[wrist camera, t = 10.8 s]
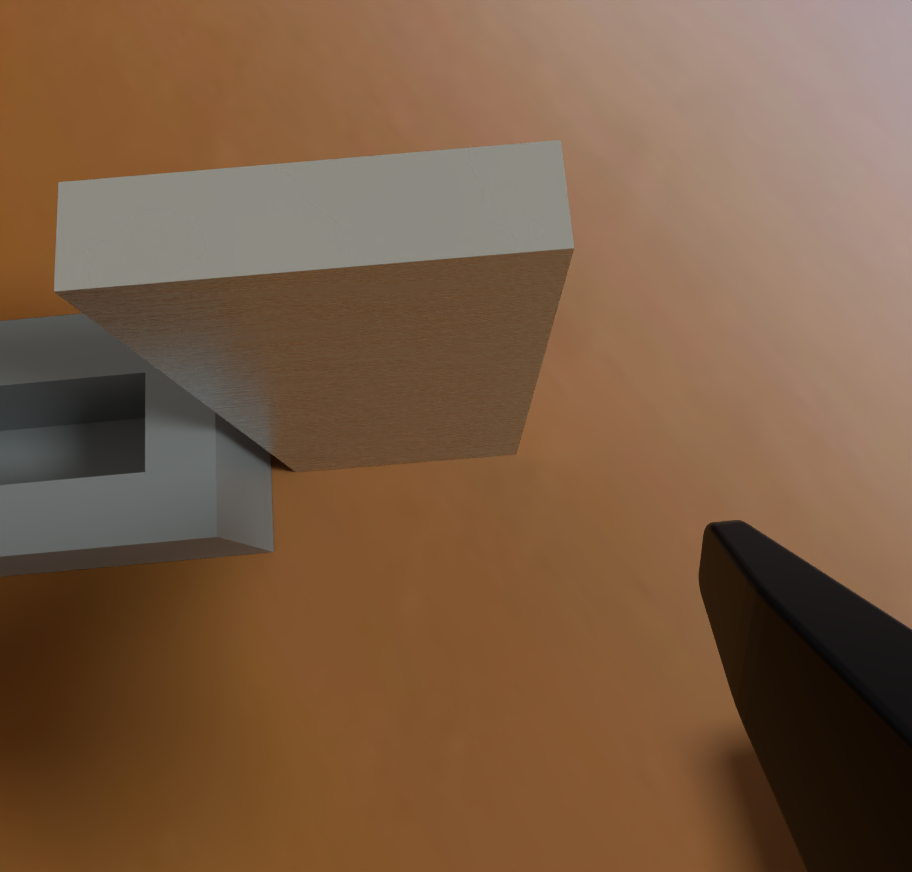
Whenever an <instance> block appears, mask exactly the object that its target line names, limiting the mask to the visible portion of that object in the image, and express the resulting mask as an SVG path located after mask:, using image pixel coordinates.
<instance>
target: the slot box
mask: <svg viewBox="0 0 912 872" xmlns="http://www.w3.org/2000/svg"><path fill="white" fill-rule="evenodd" d="M268 552H274V539H273V509H272V480H271V453H269V452H268V451H267V450H265V449H264V448H263V447H261V446H260V445H259V444H257V443H256V442H255V441H253V440H252V439H251V438H249V437H248V436H247V435H245V434H244V433H243V432H241V431H240V430H238V429H237V428H236V427H234V426H233V425H232V424H230V423H229V422H228V421H226V420H225V419H224V418H222V417H221V416H220V415H218V414H217V413H216V412H214V411H213V410H212V409H210V408H209V407H208V406H206V405H205V404H204V403H202V402H201V401H200V400H198V399H197V398H196V397H194V396H193V395H192V394H190V393H189V392H188V391H186V390H185V389H184V388H182V387H181V386H180V385H178V384H177V383H176V382H174V381H173V380H172V379H170V378H169V377H168V376H166V375H165V374H164V373H162V372H161V371H160V370H158V369H157V368H156V367H154V366H153V365H152V364H150V363H149V362H148V361H146V360H145V359H144V358H142V357H141V356H140V355H138V354H137V353H136V352H134V351H133V350H131V349H130V348H129V347H127V346H126V345H125V344H123V343H122V342H121V341H119V340H118V339H117V338H115V337H114V336H113V335H111V334H110V333H109V332H107V331H106V330H105V329H103V328H102V327H101V326H99V325H98V324H97V323H95V322H94V321H93V320H91V319H90V318H89V317H87V316H86V315H85V314H72V315H61V316H50V317H39V318H28V319H17V320H6V321H0V577H2V576H13V575H24V574H35V573H46V572H57V571H69V570H80V569H91V568H102V567H113V566H124V565H135V564H146V563H157V562H168V561H179V560H190V559H201V558H212V557H223V556H235V555H246V554H257V553H268Z"/></svg>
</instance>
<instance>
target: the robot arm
mask: <svg viewBox="0 0 912 872" xmlns="http://www.w3.org/2000/svg"><path fill="white" fill-rule="evenodd" d="M699 586H700V591H701V595H702V599H703V602H704V605H705V608H706V612H707V615H708V618H709V622H710V625H711V628H712V631H713V635H714V638H715V641H716V644H717V648H718V651H719V654H720V658H721V661H722V664H723V667H724V671H725V674H726V677H727V681H728V684H729V687H730V690H731V693H732V696H733V699H734V702H735V705H736V708H737V710H738V713H739V715H740V718H741V720H742V723H743V725H744V728H745V730H746V732H747V734H748V737H749V739H750V741H751V744H752V746H753V748H754V750H755V753H756V755H757V757H758V760H759V762H760V764H761V767H762V769H763V771H764V773H765V776H766V778H767V780H768V783H769V785H770V787H771V789H772V792H773V794H774V796H775V799H776V801H777V803H778V805H779V808H780V810H781V812H782V815H783V817H784V819H785V821H786V824H787V826H788V828H789V831H790V833H791V835H792V838H793V840H794V842H795V844H796V847H797V849H798V851H799V854H800V856H801V858H802V860H803V863H804V865H805V867H806V870H807V872H912V629H910V628H909V627H907V626H906V625H904V624H902V623H901V622H899V621H898V620H896V619H895V618H893V617H892V616H890V615H888V614H887V613H885V612H884V611H882V610H881V609H879V608H878V607H876V606H875V605H873V604H871V603H870V602H868V601H867V600H865V599H864V598H862V597H861V596H859V595H857V594H856V593H854V592H853V591H851V590H850V589H848V588H847V587H845V586H843V585H842V584H840V583H839V582H837V581H836V580H834V579H833V578H831V577H829V576H828V575H826V574H825V573H823V572H822V571H820V570H819V569H817V568H816V567H814V566H812V565H811V564H809V563H808V562H806V561H805V560H803V559H802V558H800V557H798V556H797V555H795V554H794V553H792V552H791V551H789V550H788V549H786V548H784V547H783V546H781V545H780V544H778V543H777V542H775V541H774V540H772V539H770V538H769V537H767V536H766V535H764V534H763V533H761V532H760V531H758V530H757V529H755V528H753V527H752V526H750V525H749V524H747V523H745V522H743V521H740V520H732V521H721V522H712V523H710V524H708V525H707V526H706V528H705V530H704V535H703V543H702V551H701V559H700V568H699Z"/></svg>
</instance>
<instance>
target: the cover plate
mask: <svg viewBox="0 0 912 872" xmlns="http://www.w3.org/2000/svg"><path fill="white" fill-rule="evenodd" d="M573 250H574V243H573V235H572V227H571V219H570V211H569V203H568V194H567V186H566V178H565V170H564V162H563V154H562V146H561V140H556V141H544V142H532V143H520V144H508V145H496V146H485V147H473V148H461V149H449V150H437V151H425V152H413V153H401V154H390V155H378V156H366V157H354V158H342V159H330V160H318V161H306V162H295V163H283V164H271V165H259V166H247V167H235V168H223V169H211V170H199V171H188V172H176V173H164V174H152V175H140V176H128V177H116V178H104V179H93V180H81V181H69V182H59V186H58V209H57V232H56V256H55V279H54V292H55V293H57V294H58V295H59V296H61V297H62V298H63V299H65V300H66V301H67V302H69V303H70V304H71V305H73V306H74V307H75V308H77V309H78V310H79V311H81V312H82V313H83V314H85V315H86V316H87V317H89V318H90V319H91V320H93V321H94V322H95V323H97V324H98V325H99V326H101V327H102V328H103V329H105V330H106V331H107V332H109V333H110V334H111V335H113V336H114V337H115V338H117V339H118V340H119V341H121V342H122V343H123V344H125V345H126V346H127V347H129V348H130V349H131V350H133V351H134V352H136V353H137V354H138V355H140V356H141V357H142V358H144V359H145V360H146V361H148V362H149V363H150V364H152V365H153V366H154V367H156V368H157V369H158V370H160V371H161V372H162V373H164V374H165V375H166V376H168V377H169V378H170V379H172V380H173V381H174V382H176V383H177V384H178V385H180V386H181V387H182V388H184V389H185V390H186V391H188V392H189V393H190V394H192V395H193V396H194V397H196V398H197V399H198V400H200V401H201V402H202V403H204V404H205V405H206V406H208V407H209V408H210V409H212V410H213V411H214V412H216V413H217V414H218V415H220V416H221V417H222V418H224V419H225V420H226V421H228V422H229V423H230V424H232V425H233V426H234V427H236V428H237V429H238V430H240V431H241V432H243V433H244V434H245V435H247V436H248V437H249V438H251V439H252V440H253V441H255V442H256V443H257V444H259V445H260V446H261V447H263V448H264V449H265V450H267V451H268V452H269V453H271V454H272V455H273V456H275V457H276V458H277V459H279V460H280V461H281V462H283V463H284V464H285V465H287V466H288V467H289V468H291V469H292V470H293V471H295V472H305V471H317V470H329V469H342V468H354V467H366V466H378V465H391V464H403V463H415V462H427V461H439V460H452V459H464V458H476V457H488V456H501V455H513V454H517V451H518V447H519V444H520V440H521V436H522V433H523V429H524V426H525V422H526V419H527V415H528V411H529V408H530V404H531V401H532V397H533V394H534V390H535V386H536V383H537V379H538V376H539V372H540V369H541V365H542V361H543V358H544V354H545V351H546V347H547V343H548V340H549V336H550V333H551V329H552V326H553V322H554V318H555V315H556V311H557V308H558V304H559V301H560V297H561V293H562V290H563V286H564V283H565V279H566V275H567V272H568V268H569V265H570V261H571V258H572V254H573Z"/></svg>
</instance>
